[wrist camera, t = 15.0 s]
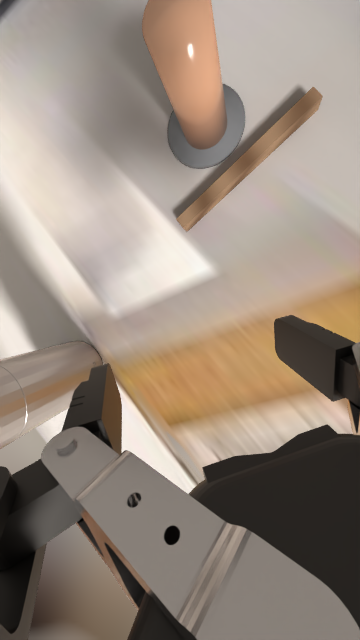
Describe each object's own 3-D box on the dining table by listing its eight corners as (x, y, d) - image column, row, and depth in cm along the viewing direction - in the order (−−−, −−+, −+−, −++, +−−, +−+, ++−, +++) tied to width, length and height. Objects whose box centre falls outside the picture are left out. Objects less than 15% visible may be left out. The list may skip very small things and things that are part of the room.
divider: (186, 231, 34) (183, 227, 32) (180, 223, 34) (176, 219, 32) (317, 109, 28) (322, 96, 27) (309, 100, 29) (313, 86, 27)
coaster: (168, 172, 34) (167, 171, 34) (169, 94, 33) (168, 91, 33) (243, 163, 31) (243, 161, 31) (246, 77, 30) (246, 74, 30)
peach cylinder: (183, 152, 33) (142, 63, 20) (184, 106, 32) (142, -13, 20) (226, 146, 31) (209, 46, 19) (228, 98, 31) (212, -38, 18)
